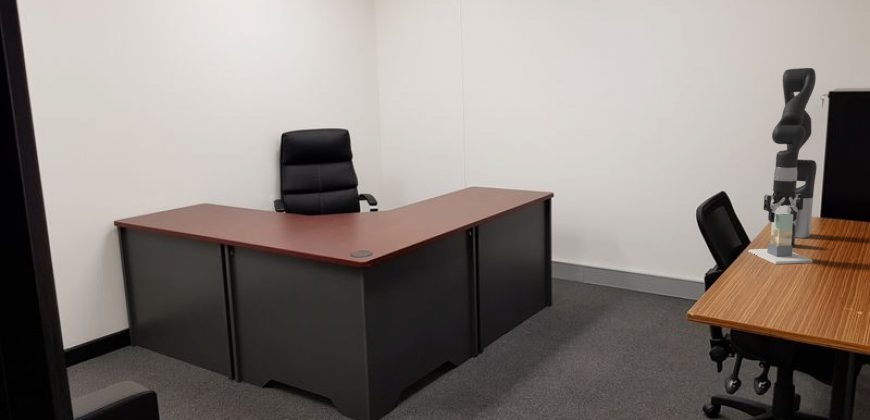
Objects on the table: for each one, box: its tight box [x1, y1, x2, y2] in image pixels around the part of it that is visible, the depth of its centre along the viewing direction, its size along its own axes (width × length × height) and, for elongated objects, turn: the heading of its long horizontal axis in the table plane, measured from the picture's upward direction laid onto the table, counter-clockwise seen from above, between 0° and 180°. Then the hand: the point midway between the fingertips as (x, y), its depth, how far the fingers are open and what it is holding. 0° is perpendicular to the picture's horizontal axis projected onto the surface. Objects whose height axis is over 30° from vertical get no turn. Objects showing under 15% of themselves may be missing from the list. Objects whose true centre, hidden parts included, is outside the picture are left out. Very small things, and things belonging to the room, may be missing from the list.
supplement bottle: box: [791, 221, 796, 247], centre depth 253 cm, size 7×7×12 cm
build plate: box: [748, 242, 813, 265], centre depth 236 cm, size 18×14×5 cm
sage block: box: [770, 211, 793, 231], centre depth 234 cm, size 5×5×6 cm
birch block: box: [770, 228, 792, 246], centre depth 235 cm, size 5×5×6 cm
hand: (781, 221), depth 234 cm, fingers open, 7 cm apart
